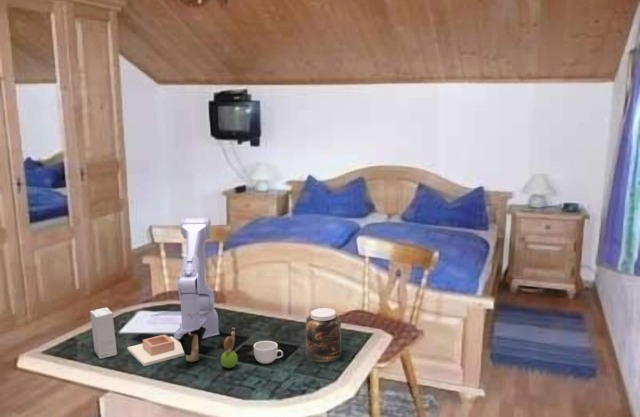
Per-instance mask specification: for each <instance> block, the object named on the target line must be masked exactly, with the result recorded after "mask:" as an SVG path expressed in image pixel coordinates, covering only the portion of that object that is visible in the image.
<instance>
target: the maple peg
mask: <svg viewBox="0 0 640 417" xmlns="http://www.w3.org/2000/svg"><path fill="white" fill-rule="evenodd" d="M190 336H194V337H193V340H192V346H191V355H190V356H188V355H185V360H186V361H187V362H189V363H192V362H193V363H194V362H197V361H199V358H200V357H199V356H200V354H199V350H198V335H197V334H190Z"/></svg>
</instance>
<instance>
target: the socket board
mask: <svg viewBox="0 0 640 417" xmlns="http://www.w3.org/2000/svg"><path fill="white" fill-rule="evenodd" d="M127 351H128V353H130V354H131V356H133V357H134V358H135V359H136V360H137V361H138V362H139V363H140V364H141V365H142V366H143V367H146V366H151V365H155V364H157V363H158V364H159V363H161V362H165V361H168V360H169V361H170V360H171V359H172V360H173V359H177V358H179V357H184V356H186V355H185V354H184V351H183V348H182V345H181V343H180V342H179V340H178V339H175V338H174V336H172V335H171V336H168V335H167V334H160V335H157V336H153V337H148V338H144V339H142V343H139V344H136V345H132V346H127Z"/></svg>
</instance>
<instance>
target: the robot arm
mask: <svg viewBox="0 0 640 417" xmlns="http://www.w3.org/2000/svg"><path fill="white" fill-rule="evenodd" d="M179 227H180V233H181V235H182V237H183V239H184V240H186V255H185V256H184V257H183V258H182V261H181V270H180V271H181V272H180V277H179V278H178V280H177V290H178V299H179V301H180V313H181V314H180V315H181V318H180V319H181V323H179V328H178V329H177V330H176V331H174V332H173V337H174V338H175V339H176V340H177V341H179V342H180V343H181V345H182V348H183V351H184V354H185V355H184V356H186V355H188V356H190V355H191V346H192V340H193V337H194V336H190V334H197V335H198V351H200V350H201V346H202V345H201V344H202V341H203V339H207V338H211V337H214V336H219V335H220V332H219V328H220V327H219V316H218V312H217V310H216V309H215V293H214V290H213V287H210V286H209V285H208V284H206V283H207V282H206V258H205V257H206V255H205V254H206V251H205V250H206V249H205V243H206V242H207V241H206V240H209V239H211V236H212V231H211V230H212V229H211V228H212V226H211V218H210V217H209V216H207V217H182V218H181V220H180V226H179Z"/></svg>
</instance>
